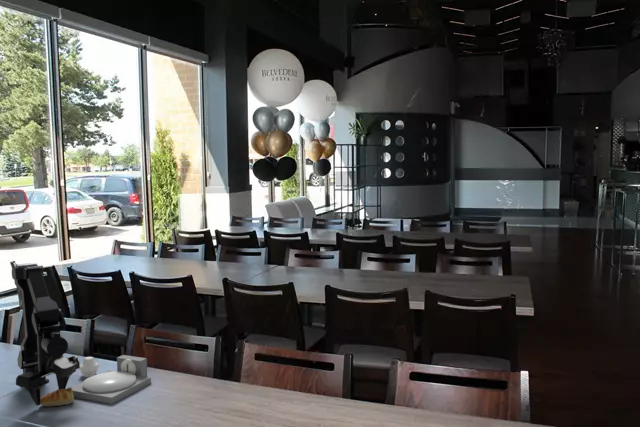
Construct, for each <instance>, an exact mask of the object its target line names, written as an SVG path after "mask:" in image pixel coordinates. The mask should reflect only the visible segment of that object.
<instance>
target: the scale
mask: <svg viewBox="0 0 640 427" xmlns="http://www.w3.org/2000/svg"><path fill="white" fill-rule="evenodd" d="M116 370H117V371H111V370H106V371H104V372H102V373H98V374H97V373H96V374H95V375H94V376H92V377H86V378H85V380H84V381H81V382H80V383H78V384H75V385H72V386H70V387H69V388H72V391H73V395H74V398H76V399H77V398H78V399H83V400H88V401H94V402H98V403H99V402H100V403H105V404H109V405H113V404H115V403H117V402H118V401H121V400H123V399H124V398H126V397H128V396H131V395H132V394H134V393H135V392H138V391H139V390H141V389H142V388H144V387H146V386H148V385H149V384H151V383H152V377H150V376H148V360H147V358H146V357H140V356H139V357H138V356H133V355H125V354H122V355H120V356H118V357H116Z"/></svg>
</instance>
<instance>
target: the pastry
mask: <svg viewBox="0 0 640 427" xmlns="http://www.w3.org/2000/svg"><path fill="white" fill-rule="evenodd" d="M74 401H75V397H74V395H73V391H72V388H70V387H67V388H65V389H58V388H57V389H56V390H54V391H51V392H50V393H46V394H45V395H43V396H40V405H41V406H44V407H56V406H63V405H70V404H72V403H74Z"/></svg>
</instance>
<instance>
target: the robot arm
mask: <svg viewBox="0 0 640 427" xmlns="http://www.w3.org/2000/svg"><path fill="white" fill-rule="evenodd" d="M44 276H45V275H44V265H38V263H37V262H32V263H31V262H30V263H21V264H15V266H14V268H12V269H11V278H12V279H13V281H14V282H13V283H14V285H15V286H16V287H17V288H18V290H19V291H20V293H21V294H20V295H21V305H22V306H21V307H22V315H23V325H24V337H23V340H22V341H21V343H20V350H19V351H18V356H17V360H16V361H17V366H18V367H19V369H20V370H22V373H21V374H19V375H17V376H16V378H15V386H19V387H22V388H24V389H25V390H26V392H28V394H29V396H30V397H31V398H32V400H33V403H34V404H35V405H36V406H40V405H41V404H40V398H41V388H42V386H44V385H43V384H46V383H48V382H50V379H48V378H46V377H47V376H51V375H52V374H54V375H55V376H56V377H55V378H56V382H57V387H58V388H57V390H58V389H67V388H66V387H67V385H68V382H69V380H70V377H71V376H72V375H73V374H74V373H75V372H77V370H79V368H80V365H81V364H80V361H79V358H78V357H79V356H76V355H71V356H70V357H64V354H66V352H67V351H68V350H69V349H68V348H69V343H68V341H67V340H66V339H65V338H64V337H63V336H62V335H61V332H62V331H66V326H67V323H66V320H65V316H64V313H63V312H62V309H60V308H59V306H58V304H57V302H56V301H54V300H53V299H52V298H51V297H50V294H49V291H48V287H47V284H46V282H45V279H44Z"/></svg>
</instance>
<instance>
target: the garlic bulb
mask: <svg viewBox="0 0 640 427" xmlns="http://www.w3.org/2000/svg"><path fill="white" fill-rule="evenodd" d="M99 366H100V364H99V363H98V362H97V361H96V360H95V358H94V357H93V356H86V357H85V358H83V361H82V363H81V364H80V368H78V370H79V371H80V373H81V374H82V376H83V377H84V378H89V377H92V376H94V375H97V373H98V370H99Z"/></svg>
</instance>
